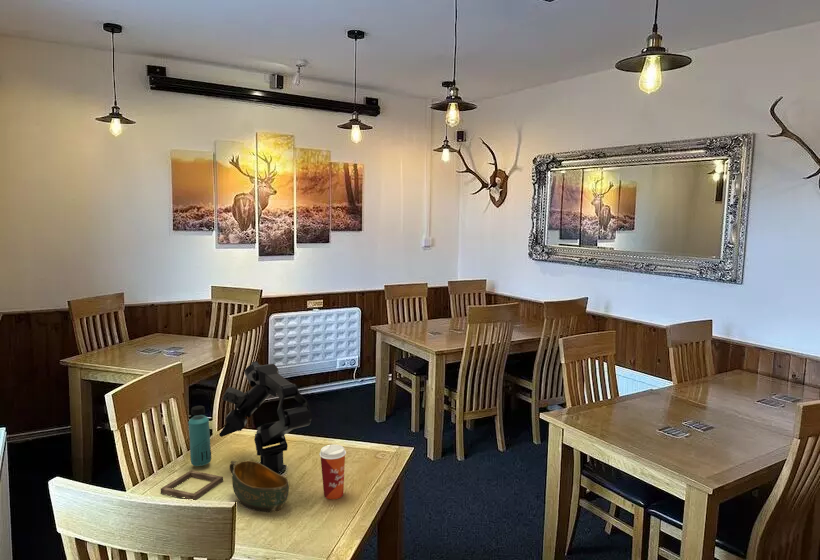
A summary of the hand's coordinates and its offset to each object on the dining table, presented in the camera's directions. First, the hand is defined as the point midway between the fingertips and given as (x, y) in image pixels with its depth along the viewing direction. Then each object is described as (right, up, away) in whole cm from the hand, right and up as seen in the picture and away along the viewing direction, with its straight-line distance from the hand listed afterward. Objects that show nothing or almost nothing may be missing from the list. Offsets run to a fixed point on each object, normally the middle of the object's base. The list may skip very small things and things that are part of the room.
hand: (223, 430), depth 180 cm
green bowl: (+18, -15, -22) cm, 32 cm away
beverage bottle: (-7, -12, 0) cm, 14 cm away
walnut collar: (-5, -13, -14) cm, 20 cm away
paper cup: (+38, -14, -18) cm, 45 cm away
